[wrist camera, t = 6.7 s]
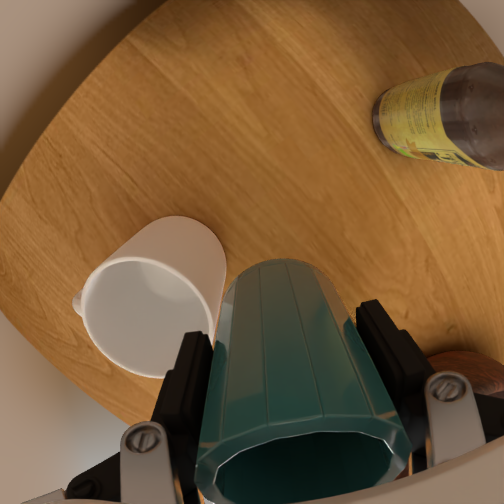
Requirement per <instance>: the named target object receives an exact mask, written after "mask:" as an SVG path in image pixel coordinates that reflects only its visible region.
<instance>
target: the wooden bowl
mask: <svg viewBox="0 0 504 504" xmlns="http://www.w3.org/2000/svg"><path fill="white" fill-rule="evenodd" d="M427 360H428V361H429V363H430V364H431V365H432V367H433V368H434V370H435V371H436V373H437V372H441V371H454V372H458V373H460V374H462V375H464V376H465V377H466V378H467V379H468V380H469V382H470V384H471V387H472V391H473V392H474V393H479V394H483V395H488V396H492V397H497V398H502V399H504V365H502V364H501V363H499V362H498V361H496V360H494V359H492V358H490V357H488V356H486V355H483V354H479V353H475V352H471V351H449V352H444V353H440V354H437V355H434V356H431V357H428V358H427ZM407 476H409V459H408V462H407V465H406V466H405V468H404V469H403V471H402V472H401V473H400V474H399V475H398V476H397V477H396V478H395V479H394V480H393V481H395V480H398V479H401V478H404V477H407Z"/></svg>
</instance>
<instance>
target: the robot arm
mask: <svg viewBox="0 0 504 504" xmlns="http://www.w3.org/2000/svg"><path fill="white" fill-rule="evenodd" d="M356 327H357V329H358V331H359V333H360V335H361V337H362V339H363V341H364V343H365V345H366V347H367V349H368V351H369V353H370V355H371V357H372V359H373V361H374V363H375V365H376V367H377V369H378V371H379V373H380V375H381V377H382V379H383V381H384V383H385V385H386V387H387V389H388V391H389V394H390V396H391V398H392V400H393V402H394V404H395V406H396V408H397V411H398V413H399V415H400V417H401V419H402V421H403V424H404V426H405V428H406V430H407V432H408V435H409V437H410V439H411V441H412V444H413V445H412V450H411V453H410V456H409V476H407V477H404V478H401V479H398V480H395V481H392V482H388V483H385V484H382V485H378V486H375V487H371V488H367V489H363V490H359V491H355V492H351V493H347V494H342V495H338V496H333V497H328V498H322V499H317V500H311V501H305V502H298V503H291V504H504V399H502V398H497V397H492V396H488V395H483V394H479V393H474V392H473V391H472V387H471V384H470V382H469V380H468V379H467V378H466V377H465V376H464V375H462V374H460V373H458V372H454V371H441V372H437V373H436V371H435V370H434V368H433V367H432V365H431V364H430V363H429V361H428V360H427V358H426V357H425V355H424V354H423V353H422V351H421V350H420V348H419V347H418V345H417V344H416V343H415V341H414V340H413V338H412V337H411V336H410V334H409V333H408V332H407V331H406V330H405V329H402V330H398V328H397V327H396V325H395V324H394V322H393V321H392V320H391V318H390V317H389V315H388V314H387V313H386V311H385V310H384V308H383V307H382V306H381V304H380V303H379V301H378V300H377V299H375V300H370V301H366V302H361V305H360V307H357V308H356ZM212 356H213V349H212V345H211V342H210V339H209V336H208V334H203V333H202V331H193V332H186V333H185V334H184V337H183V340H182V343H181V346H180V349H179V352H178V356H177V359H176V362H175V365H174V368H173V369H171V370H168V371H167V373H166V375H165V378H164V381H163V384H162V387H161V390H160V393H159V396H158V399H157V402H156V405H155V408H154V411H153V415H152V418H151V421H144V422H140V423H137V424H134V425H133V426H131V427H129V428H128V429H127V430H126V431H125V433H124V434H123V436H122V438H121V444H120V452H118V453H116V454H115V455H113V456H111V457H110V458H108V459H106V460H104V461H103V462H101V463H99V464H98V465H96V466H94V467H92V468H90V469H89V470H87V471H85V472H83V473H81V474H79V475H78V476H76V477H75V478H73V479H72V480H71V482H70V483H69V485H68V487H67V490H65V491H64V490H63V489H62V488H61V489H58V490H56V491H53V492H51V493H48V494H46V495H43V496H40V497H37V498H35V499H32V500H29V501H26V502H23V503H21V504H205V503H204V499H203V495H202V493H201V492H200V491H199V489H198V488H197V486H196V485H195V484H194V481H193V475H194V468H195V462H196V455H197V449H198V442H199V436H200V429H201V423H202V417H203V411H204V404H205V398H206V392H207V386H208V380H209V374H210V368H211V362H212Z"/></svg>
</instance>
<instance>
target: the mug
mask: <svg viewBox="0 0 504 504" xmlns="http://www.w3.org/2000/svg"><path fill="white" fill-rule="evenodd" d="M225 277H226V258H225V253H224V250H223V248H222V245H221V243H220V241H219V240H218V238H217V237H216V235H215V234H214V233H213V232H212V231H211V230H210V229H209V228H208V227H206V226H205V225H204V224H202V223H200V222H198V221H196V220H194V219H191V218H188V217H183V216H168V217H163V218H160V219H157V220H155V221H153V222H151V223H149V224H148V225H147V226H145V227H144V228H143V229H141V230H140V231H139V232H138V233H137V234H135V235H134V236H133V237H132V238H131V239H129V240H128V241H127V242H126V243H125V244H123V245H122V246H121V247H120V248H119V249H118V250H116V251H115V252H114V253H113V254H112V255H111V256H109V257H108V258H107V259H106V260H105V261H104V262H103V263H102V264H100V265H99V266H98V267H97V268H96V269H95V270H94V271H93V272H92V273H91V274H90V276H89V277H88V279H87V281H86V283H85V285H84V288H82V289H81V290H80V291H79V292H78V293H77V294H76V295H75V296H74V298H73V300H72V306H73V308H74V310H75V311H76V312H77V314H79V315H80V316H82V318H83V322H84V325H85V327H86V330H87V332H88V334H89V336H90V338H91V339H92V341H93V342H94V344H95V345H96V346H97V347H98V349H99V350H100V351H101V352H102V353H103V354H104V355H105V356H106V357H107V358H108V359H110V360H111V361H112V362H114V363H115V364H117V365H118V366H120V367H121V368H123V369H125V370H127V371H129V372H132V373H135V374H138V375H141V376H145V377H151V378H165V375H166V373H167V371H168V370H171V369H173V368H174V365H175V362H176V359H177V356H178V352H179V349H180V346H181V343H182V340H183V337H184V334H185V333H186V332H193V331H202V333H203V334H208V336H209V339H210V342H211V345H212V344H213V339H214V334H215V329H216V323H217V318H218V313H219V308H220V303H221V298H222V292H223V287H224V282H225Z"/></svg>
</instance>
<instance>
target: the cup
mask: <svg viewBox="0 0 504 504" xmlns="http://www.w3.org/2000/svg"><path fill="white" fill-rule="evenodd" d="M412 445H413V444H412V441H411V439H410V437H409V435H408V432H407V430H406V428H405V426H404V424H403V421H402V419H401V417H400V415H399V413H398V411H397V408H396V406H395V404H394V402H393V400H392V398H391V396H390V394H389V391H388V389H387V387H386V385H385V383H384V381H383V379H382V377H381V375H380V373H379V371H378V369H377V367H376V365H375V363H374V361H373V359H372V357H371V355H370V353H369V351H368V349H367V347H366V345H365V343H364V341H363V339H362V337H361V335H360V333H359V331H358V329H357V327H356V325H355V323H354V322H353V320H352V318H351V316H350V314H349V312H348V310H347V308H346V306H345V305H344V303H343V301H342V299H341V297H340V295H339V294H338V292H337V290H336V288H335V287H334V285H333V283H332V282H331V280H330V279H329V278H328V277H327V276H326V275H325V274H324V273H323V272H322V271H321V270H319V269H318V268H316V267H315V266H313V265H311V264H309V263H306V262H303V261H299V260H295V259H272V260H267V261H263V262H261V263H258V264H255V265H253V266H251V267H250V268H248V269H246V270H245V271H243V272H242V273H241V274H240V275H239V276H237V277H236V278H235V279H234V281H233V282H232V283H231V284H230V286H229V287H228V289H227V291H226V293H225V295H224V298H223V301H222V305H221V311H220V316H219V322H218V327H217V333H216V339H215V345H214V351H213V356H212V362H211V368H210V374H209V380H208V386H207V392H206V398H205V404H204V411H203V417H202V423H201V429H200V436H199V442H198V449H197V455H196V462H195V468H194V475H193V481H194V484H195V485H196V486H197V488H198V489H199V491H200V492H201V493H202V495H203V496H204V497H205V498H206V499H207V500H208V501H210V502H212V503H214V504H291V503H298V502H305V501H311V500H317V499H322V498H328V497H333V496H338V495H342V494H347V493H351V492H355V491H359V490H363V489H367V488H371V487H375V486H378V485H382V484H385V483H388V482H392V481H393V480H394V479H395V478H396V477H397V476H398V475H399V474H400V473H401V472H402V471H403V469H404V468H405V466H406V465H407V462H408V459H409V456H410V453H411V450H412Z"/></svg>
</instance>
